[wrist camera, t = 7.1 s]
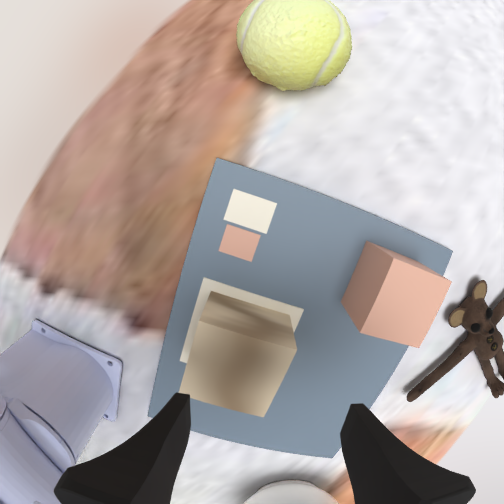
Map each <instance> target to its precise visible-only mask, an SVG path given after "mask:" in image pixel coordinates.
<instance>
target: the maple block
mask: <svg viewBox="0 0 504 504" xmlns="http://www.w3.org/2000/svg"><path fill="white" fill-rule="evenodd" d="M296 351H297V346H296V341H295V337H294V332H293V327H292V323H291V318H290V315H288V314H285V313H281V312H278V311H275V310H271V309H268V308H265V307H261V306H258V305H255V304H252V303H248V302H245V301H242V300H239V299H236V298H232V297H229V296H226V295H223V294H220V293H217V292H214V291H211V292H210V294H209V297H208V299H207V302H206V304H205V307H204V309H203V312H202V315H201V317H200V320H199V323H198V326H197V329H196V333H195V336H194V340H193V343H192V347H191V350H190V354H189V357H188V361H187V364H186V368H185V372H184V375H183V379H182V382H181V386H180V390H179V393H184V394H190V398H192V399H195V400H199V401H202V402H205V403H209V404H212V405H216V406H220V407H223V408H227V409H231V410H235V411H239V412H243V413H247V414H251V415H255V416H260V417H264V416H265V414H266V412H267V410H268V408H269V406H270V404H271V402H272V400H273V398H274V396H275V394H276V392H277V391H278V389H279V387H280V385H281V383H282V380H283V378H284V376H285V374H286V372H287V370H288V368H289V366H290V364H291V362H292V360H293V358H294V356H295V354H296Z"/></svg>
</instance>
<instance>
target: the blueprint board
mask: <svg viewBox="0 0 504 504" xmlns="http://www.w3.org/2000/svg"><path fill="white" fill-rule="evenodd" d="M366 241H369V242H371V243H374V244H376V245H379V246H381V247H384V248H386V249H389V250H391V251H394V252H396V253H399V254H401V255H404V256H406V257H408V258H411V259H413V260H416V261H418V262H420V263H421V264H423V265H425V266H427V267H428V268H430V269H432V270H433V271H435V272H436V273H438V274H440V275H441V276H443V275H444V272H445V270H446V268H447V265H448V263H449V260H450V258H451V255H452V252H453V251H452V250H450V249H448V248H446V247H443V246H441V245H439V244H437V243H435V242H433V241H431V240H429V239H427V238H425V237H422V236H420V235H418V234H416V233H414V232H412V231H409V230H407V229H405V228H403V227H400V226H398V225H396V224H394V223H391V222H389V221H387V220H385V219H382V218H380V217H378V216H375V215H373V214H370V213H368V212H366V211H363V210H361V209H358V208H356V207H353V206H351V205H349V204H346V203H344V202H341V201H339V200H336V199H333V198H331V197H328V196H326V195H323V194H320V193H318V192H315V191H313V190H310V189H307V188H304V187H302V186H299V185H296V184H294V183H291V182H288V181H285V180H282V179H280V178H277V177H274V176H271V175H268V174H265V173H262V172H259V171H256V170H253V169H250V168H247V167H244V166H241V165H238V164H235V163H232V162H229V161H225V160H222V159H219V158H217V159H216V161H215V164H214V167H213V170H212V173H211V177H210V180H209V183H208V186H207V189H206V192H205V195H204V198H203V201H202V205H201V208H200V211H199V214H198V218H197V221H196V224H195V228H194V231H193V234H192V238H191V241H190V244H189V248H188V251H187V255H186V258H185V262H184V266H183V269H182V273H181V276H180V280H179V284H178V287H177V291H176V295H175V299H174V303H173V307H172V310H171V314H170V318H169V322H168V326H167V330H166V335H165V339H164V343H163V347H162V351H161V356H160V360H159V365H158V369H157V374H156V378H155V383H154V388H153V392H152V397H151V402H150V407H149V412H148V416H149V417H152V418H154V417H155V416H156V414H157V413H158V412H159V411H160V410H161V409H162V408H163V407H164V406H165V405H166V403H167V402H168V401H169V400H170V399H171V397H172V396H173V395H174V394H175V393H176V392H177V393H179V390H180V386H181V382H182V379H183V375H184V372H185V368H186V364H187V361H188V357H189V354H190V350H191V347H192V343H193V340H194V336H195V333H196V329H197V326H198V323H199V320H200V317H201V315H202V312H203V309H204V307H205V304H206V302H207V299H208V297H209V294H210V292H211V291H214V292H217V293H220V294H223V295H226V296H229V297H232V298H236V299H239V300H242V301H245V302H248V303H252V304H255V305H258V306H261V307H265V308H268V309H271V310H275V311H278V312H281V313H285V314H288V315H290V318H291V323H292V327H293V332H294V337H295V341H296V346H297V351H296V354H295V356H294V358H293V360H292V362H291V364H290V366H289V368H288V370H287V372H286V374H285V376H284V378H283V380H282V383H281V385H280V387H279V389H278V391H277V392H276V394H275V396H274V398H273V400H272V402H271V404H270V406H269V408H268V410H267V412H266V414H265V416H264V417H260V416H255V415H251V414H247V413H243V412H239V411H235V410H231V409H227V408H223V407H220V406H216V405H212V404H209V403H205V402H202V401H199V400H195V399H192V398H190V410H191V428H190V430H191V431H194V432H198V433H201V434H205V435H208V436H212V437H216V438H219V439H223V440H227V441H231V442H236V443H240V444H245V445H249V446H254V447H259V448H264V449H269V450H275V451H281V452H287V453H293V454H300V455H308V456H316V457H325V458H333V457H334V455H335V454H336V453H337V452H338V451H339V449H340V448H341V447H342V446H341V439H340V431H341V429H342V426H343V424H344V421H345V419H346V416H347V413H348V410H349V408H350V405H351V404H357V403H363V404H364V405H365V406H366V407H367V408H368V409H370V408H371V406H372V405H373V403H374V402H375V400H376V399H377V397H378V396H379V394H380V393H381V391H382V390H383V388H384V387H385V385H386V383H387V382H388V380H389V379H390V377H391V375H392V374H393V372H394V371H395V369H396V367H397V366H398V364H399V362H400V360H401V359H402V357H403V355H404V354H405V352H406V350H407V348H408V346H409V345H405V344H401V343H397V342H393V341H389V340H385V339H381V338H377V337H374V336H370V335H366V334H362V333H360V332H359V331H358V329H357V327H356V326H355V324H354V323H353V321H352V319H351V318H350V316H349V314H348V313H347V311H346V310H345V308H344V306H343V305H342V303H341V300H342V298H343V296H344V293H345V291H346V289H347V286H348V284H349V282H350V280H351V277H352V275H353V272H354V270H355V268H356V265H357V263H358V260H359V258H360V255H361V253H362V250H363V248H364V245H365V243H366Z"/></svg>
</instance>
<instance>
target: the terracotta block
mask: <svg viewBox="0 0 504 504" xmlns="http://www.w3.org/2000/svg"><path fill="white" fill-rule="evenodd" d="M450 284H451V281H450V280H448V279H446V278H445V277H443V276H441V275H440V274H438V273H436V272H435V271H433V270H432V269H430V268H428V267H427V266H425V265H423V264H421V263H420V262H418V261H416V260H413V259H411V258H408V257H406V256H404V255H401V254H399V253H396V252H394V251H391V250H389V249H386V248H384V247H381V246H379V245H376V244H374V243H371V242H369V241H366V243H365V245H364V248H363V250H362V253H361V255H360V258H359V260H358V263H357V265H356V268H355V270H354V272H353V275H352V277H351V280H350V282H349V284H348V286H347V289H346V291H345V293H344V296H343V298H342V300H341V303H342V305H343V306H344V308H345V310H346V311H347V313H348V314H349V316H350V318H351V319H352V321H353V323H354V324H355V326H356V327H357V329H358V331H359V332H360V333H362V334H366V335H370V336H374V337H377V338H381V339H385V340H389V341H393V342H397V343H401V344H405V345H409V346H413V347H417V348H419V347H420V345H421V343H422V341H423V340H424V338H425V336H426V334H427V332H428V330H429V328H430V326H431V324H432V323H433V321H434V319H435V317H436V315H437V313H438V310H439V308H440V306H441V304H442V302H443V300H444V298H445V296H446V293H447V291H448V289H449V287H450Z"/></svg>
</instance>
